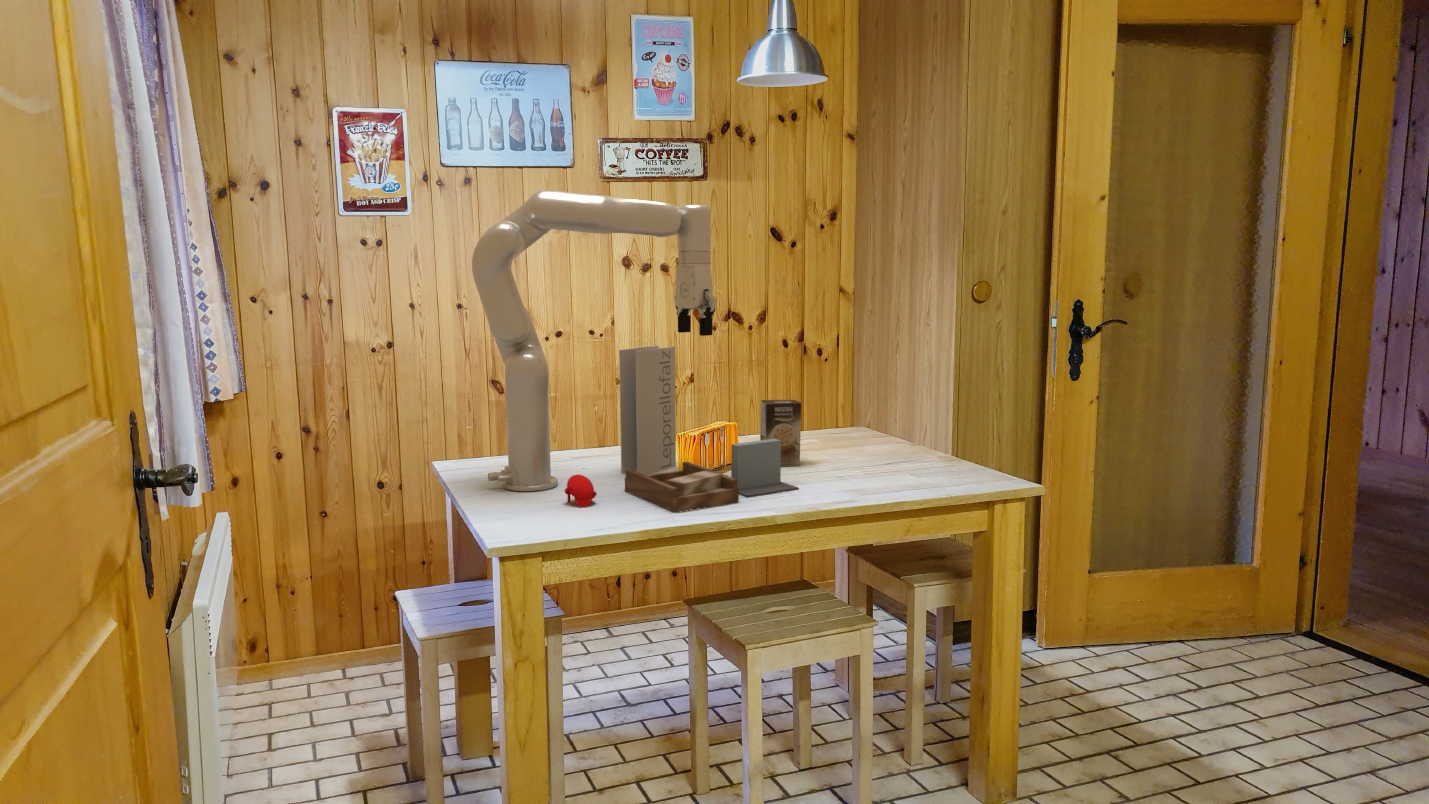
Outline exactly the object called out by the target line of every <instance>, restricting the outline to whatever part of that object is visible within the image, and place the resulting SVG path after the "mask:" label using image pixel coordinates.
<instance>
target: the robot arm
mask: <svg viewBox="0 0 1429 804" xmlns="http://www.w3.org/2000/svg"><path fill="white" fill-rule="evenodd" d="M711 212H712V211H711V209H710V207H709V206H708V205H706V204H683V205H679V206H677V205H674V204H672V203H668V202H664V201H653V200H642V199H633V198H632V199H631V198H622V197H621V198H620V197H615V196H610V195H601V194H592V193H581V192H573V191H571V192H570V191H564V190H563V191H562V190H553V189H552V190H551V189H541V190H538V191H535V192H534V193H533V194H532V195H531V196H530V197H529V198H528V199H527V200H526V201H525V202H523V204H521V205H520V206H519V207H517V208H516V209H515V210H513V211H512V212H511V213H509V214H508V215H507V216H506V217H504V218H503V219H502V220H501V221H499V222H497V223H494V224H493V225H491V226H490V227H488V229H487V230H486V231H485V232H484V233H483V235H482V236H481V237H480V238H479V240H478V241H477V242H476V246H475V247H474V250H473V253H472V258H471V259H472V260H471V272H472V277H473V281H474V284H475V288H476V289H477V292H478V296H479V298H480V302H481V304H482V308H483V311H484V313H485V317H486V319H487V323H488V327H489V331H490V334H491V335H492V337H493V338H494V340H495V344H496V346H497V348H498V351H499V354H500V356H501V359H502V361H503V364H504V381H505V382H504V384H505V404H506V407H505V408H506V409H505V410H506V411H505V412H506V424H507V426H506V427H507V428H506V430H507V457H508V459H507V460H508V465H506V466H504V469H501V471H498V472H497V471H494V472H488V474H487V480H488V481H489V482H496V481H497V482H501V484H502V485H501V486H502V488H503V489H506V490H509V491H514V492H535V491H544V490H549V489H552V488H555V487H556V486H558V484H559V483H558V482H559V481H558V478H557V477H556V476H553V475H551V474H552V471H551V470H552V468H551V467H552V466H551V435H550V434H551V433H550V429H551V428H550V406H549V405H550V401H549V399H550V395H549V393H550V392H549V390H550V389H549V387H550V384H549V383H550V382H549V381H550V375H549V374H550V373H549V366H548V365H549V364H548V362H547V361H548V360H547V359H546V355H545V353H544V350H543V347H542V346H541V342H540V340H539V337H538V334H537V331H536V328H535V326H534V323H533V320H532V317H531V315H530V312H529V311H528V309H527V307H525V305H524V303H523V300H522V298H521V295H520V293H519V289H518V287H517V283H516V280H515V278H514V275H513V270H512V264H513V261H514V260H515V258H517V257H519V255H520V254H522V253H523V252H525V251H526V250H527V249H528V248H530V247H531V246H532V245H533V244H534V243H536V242H537V241H538V240H540V239H541V238H542V237H544V236H545V235H546V234H547V233H548V232H550V231H551V230H557V231H567V232H568V231H569V232H578V233H591V234H599V235H600V234H602V235H608V234H631V235H642V236H643V235H644V236H651V237H657V238H669V237H672V236H677V251H678V252H677V253H678V255H677V257H678V258H677V259H678V261H677V263H678V265H677V268H676V273H675V274H676V275H675V286H674V287H675V290H674V291H675V292H674V296H673V300H674V307H675V309H676V315H677V332H678V333H679V334H680V333H681V334H682V333H691V331H692V328H691V322H692V321H691V320H692V319H691V318H692V317H691V314H690V312H691V310H696V309H697V310H698V312H699V313H698V314H699V315H700V317H699V324H698V325H699V327H698V328H699V336H701V337H704V336H705V337H707V336H712V335H713V331H714V330H713V321H714V320H713V319H714V316H715V312H716V305H717V302H718V299H717V298H716V297H715V296H714V293H713V292H714V291H713V290H714V289H713V288H714V286H713V277H712V276H713V275H712V268H711V266H712V251H711V250H712V213H711Z"/></svg>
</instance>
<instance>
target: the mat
mask: <svg viewBox="0 0 1429 804" xmlns="http://www.w3.org/2000/svg"><path fill="white" fill-rule="evenodd" d="M790 490H791V491H796V490H799V486H795V485H792V484H789V483H786V482H782V481H781V483H777V484H771V485H765V486H759V487H752V488H746V489H740V490H739V496H743V497H745V498H751V497H752V498H753V497H759V495H760V496H765V495H771V493H772V494H777V492H779V493H783V491H785V492H789V491H790ZM791 491H790V492H791Z"/></svg>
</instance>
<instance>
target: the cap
mask: <svg viewBox="0 0 1429 804" xmlns="http://www.w3.org/2000/svg"><path fill="white" fill-rule="evenodd" d="M564 493H565V494H566V496H567V503H568V504H570V503H571V496H572V497H574V501H575V503H576V505H577V506H578V507H579V508H582V507H583V508H587V507H588V506H589V505H590V504H591V503H592V501H593V499H594V498H596V496H597V492H596V491H595V489H594V485H593V482H592V480H590V479H589V478H588V477H586V476H585V475H583V474H574V475H572V476H570V477H569V478H568V480H567V482H566V488H565V489H564ZM569 502H570V503H569Z"/></svg>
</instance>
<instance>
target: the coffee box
mask: <svg viewBox="0 0 1429 804" xmlns="http://www.w3.org/2000/svg"><path fill="white" fill-rule="evenodd" d="M801 425H802V403H801V401H799V400H796V399H761V401H760V436H759V437H760V438H759V441H760V440H768V439H778V440H781V467H800V466H801V428H802V427H801Z"/></svg>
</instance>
